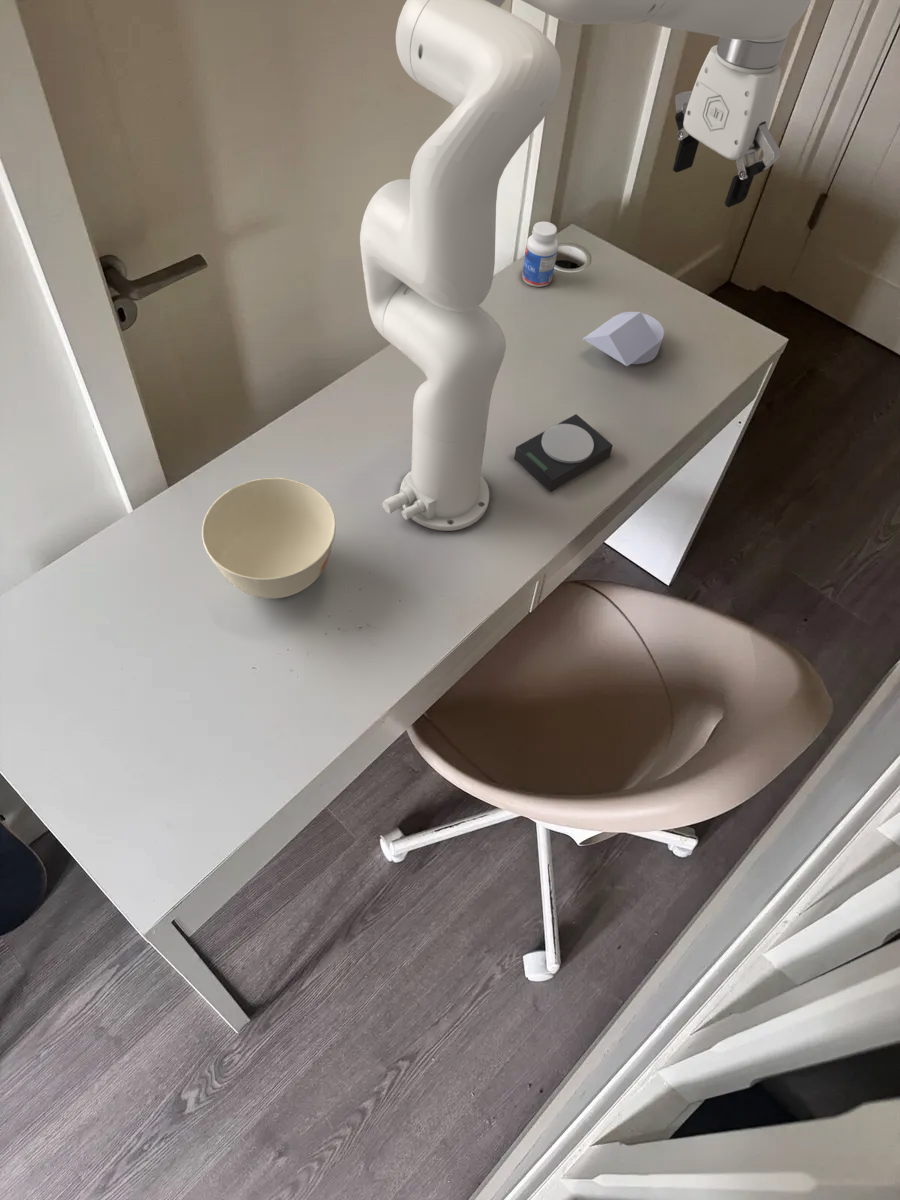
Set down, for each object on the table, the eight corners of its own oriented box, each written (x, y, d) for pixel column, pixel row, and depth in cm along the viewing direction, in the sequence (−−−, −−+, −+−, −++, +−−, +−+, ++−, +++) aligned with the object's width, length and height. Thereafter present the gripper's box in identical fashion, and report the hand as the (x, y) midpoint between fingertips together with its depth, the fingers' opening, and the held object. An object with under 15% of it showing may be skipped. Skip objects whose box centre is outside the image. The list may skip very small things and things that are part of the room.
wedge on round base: (622, 383, 137) (669, 346, 143) (632, 349, 132) (680, 312, 138) (578, 355, 141) (625, 321, 146) (586, 321, 135) (635, 287, 141)
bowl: (279, 509, 119) (271, 458, 110) (365, 571, 113) (363, 522, 105) (189, 579, 111) (173, 529, 103) (276, 648, 106) (267, 602, 98)
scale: (550, 492, 123) (553, 477, 121) (513, 458, 126) (516, 444, 124) (609, 457, 128) (614, 442, 125) (573, 425, 131) (576, 411, 129)
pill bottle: (516, 272, 153) (523, 221, 145) (543, 266, 154) (551, 215, 146) (530, 290, 150) (538, 239, 142) (557, 284, 151) (566, 233, 143)
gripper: (676, 24, 104) (643, 163, 118) (784, 84, 96) (735, 226, 110) (719, 11, 106) (681, 149, 120) (828, 69, 99) (774, 209, 113)
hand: (707, 185), depth 115 cm, fingers open, 9 cm apart
